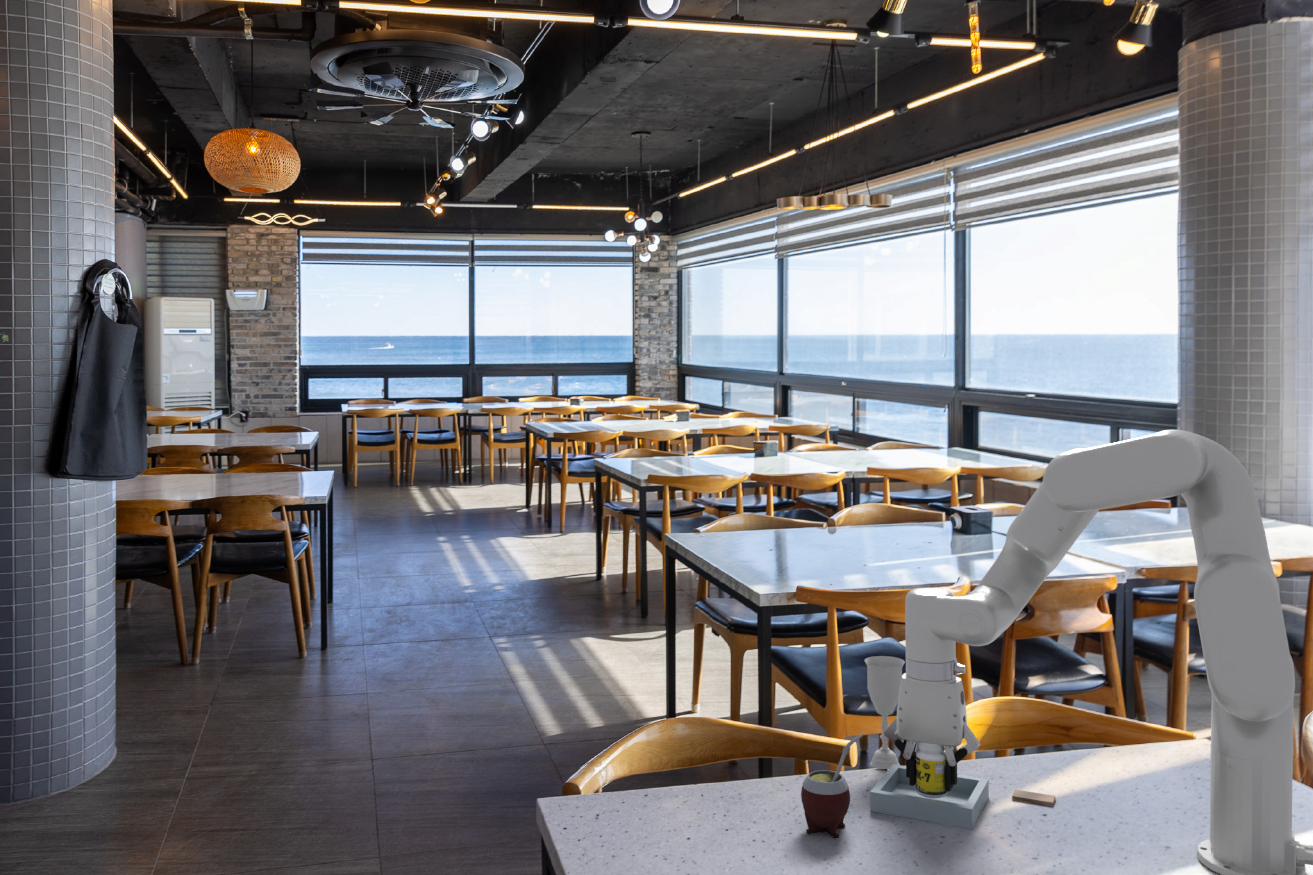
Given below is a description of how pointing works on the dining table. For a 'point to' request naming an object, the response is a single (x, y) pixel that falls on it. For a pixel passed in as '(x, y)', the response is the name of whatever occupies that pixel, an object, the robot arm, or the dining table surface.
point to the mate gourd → (826, 798)
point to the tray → (930, 799)
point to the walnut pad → (1033, 797)
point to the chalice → (884, 700)
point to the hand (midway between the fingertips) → (931, 784)
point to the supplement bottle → (930, 770)
